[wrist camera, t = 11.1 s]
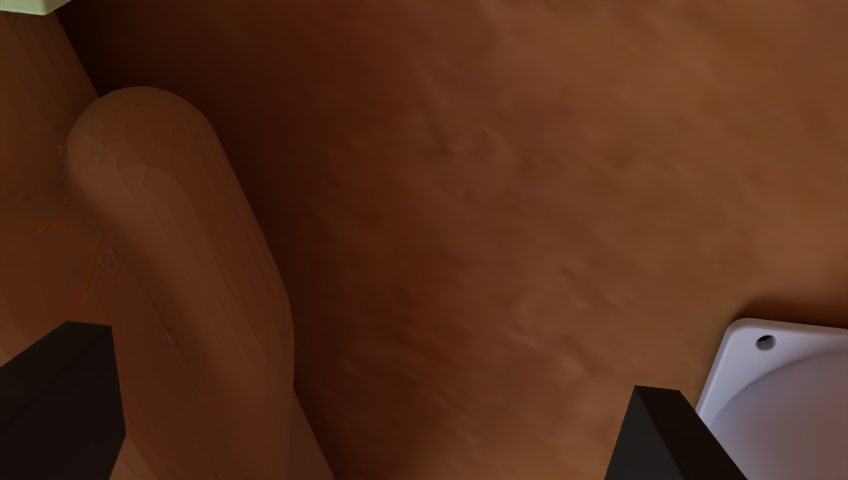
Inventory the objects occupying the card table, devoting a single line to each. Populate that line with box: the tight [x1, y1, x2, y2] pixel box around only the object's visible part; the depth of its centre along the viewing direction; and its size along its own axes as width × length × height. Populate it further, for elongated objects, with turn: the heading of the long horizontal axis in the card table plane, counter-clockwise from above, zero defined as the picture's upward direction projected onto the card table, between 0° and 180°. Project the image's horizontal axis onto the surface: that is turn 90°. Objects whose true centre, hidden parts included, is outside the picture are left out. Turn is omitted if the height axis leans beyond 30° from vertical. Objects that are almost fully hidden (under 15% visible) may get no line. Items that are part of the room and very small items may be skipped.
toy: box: [0, 10, 335, 480], centre depth 20 cm, size 15×8×20 cm
